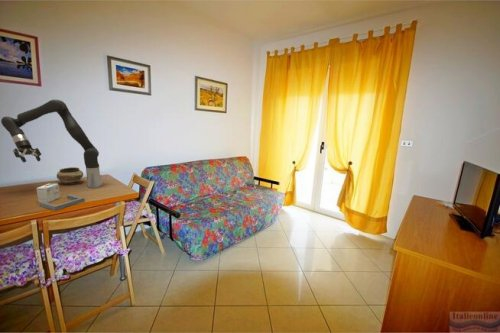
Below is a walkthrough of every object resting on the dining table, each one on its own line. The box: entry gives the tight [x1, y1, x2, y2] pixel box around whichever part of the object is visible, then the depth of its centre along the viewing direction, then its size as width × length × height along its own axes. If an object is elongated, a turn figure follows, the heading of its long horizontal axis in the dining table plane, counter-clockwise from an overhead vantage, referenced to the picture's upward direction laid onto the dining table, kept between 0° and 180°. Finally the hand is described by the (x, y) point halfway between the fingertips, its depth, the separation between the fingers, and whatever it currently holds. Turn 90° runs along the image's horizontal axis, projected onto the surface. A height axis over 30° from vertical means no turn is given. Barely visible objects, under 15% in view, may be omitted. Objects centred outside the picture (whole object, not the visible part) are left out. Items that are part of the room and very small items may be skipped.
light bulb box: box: [36, 183, 61, 203], centre depth 152 cm, size 11×7×11 cm, turn 5°
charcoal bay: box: [38, 194, 86, 211], centre depth 148 cm, size 18×16×2 cm
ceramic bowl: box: [56, 166, 84, 185], centre depth 189 cm, size 24×18×15 cm
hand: (32, 161), depth 156 cm, fingers open, 8 cm apart
